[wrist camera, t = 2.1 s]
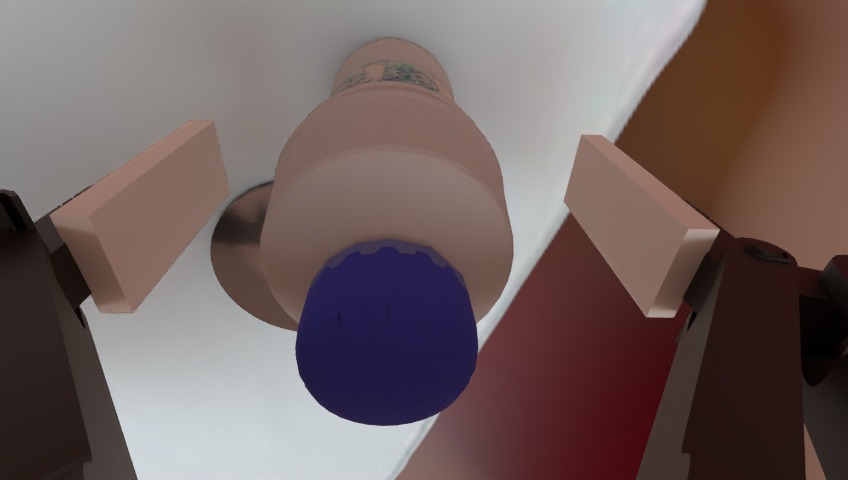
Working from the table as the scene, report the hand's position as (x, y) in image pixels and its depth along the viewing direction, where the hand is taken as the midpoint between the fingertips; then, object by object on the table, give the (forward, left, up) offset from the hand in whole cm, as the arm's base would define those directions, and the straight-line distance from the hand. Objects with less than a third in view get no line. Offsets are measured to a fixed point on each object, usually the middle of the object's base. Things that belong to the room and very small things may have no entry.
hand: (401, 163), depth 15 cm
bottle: (0, 0, -10) cm, 10 cm away
